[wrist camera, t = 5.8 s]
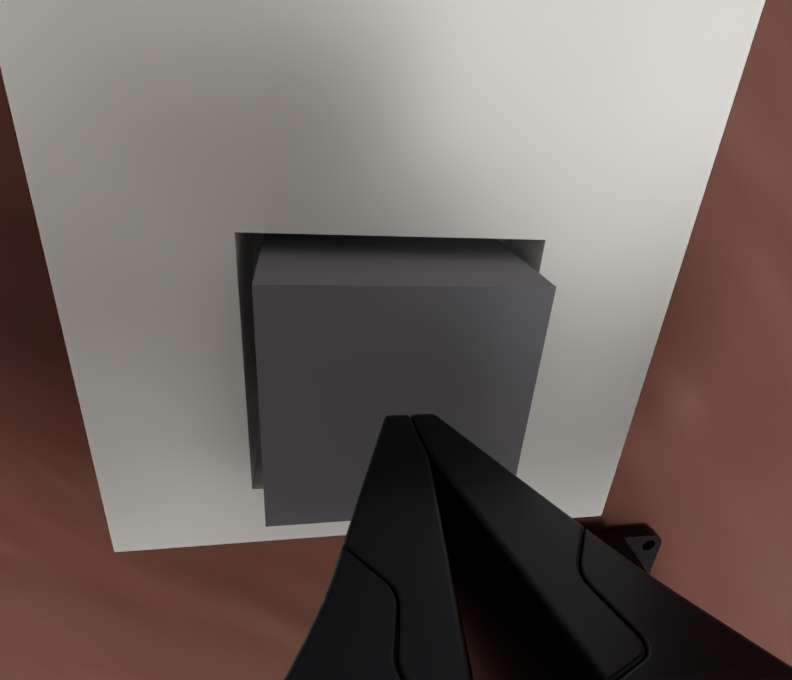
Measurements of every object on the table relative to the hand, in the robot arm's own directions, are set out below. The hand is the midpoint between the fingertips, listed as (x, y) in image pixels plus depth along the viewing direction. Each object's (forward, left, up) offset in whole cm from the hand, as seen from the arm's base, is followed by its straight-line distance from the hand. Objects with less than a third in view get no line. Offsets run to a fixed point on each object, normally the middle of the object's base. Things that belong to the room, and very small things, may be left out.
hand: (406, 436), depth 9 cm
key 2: (0, 0, -4) cm, 4 cm away
